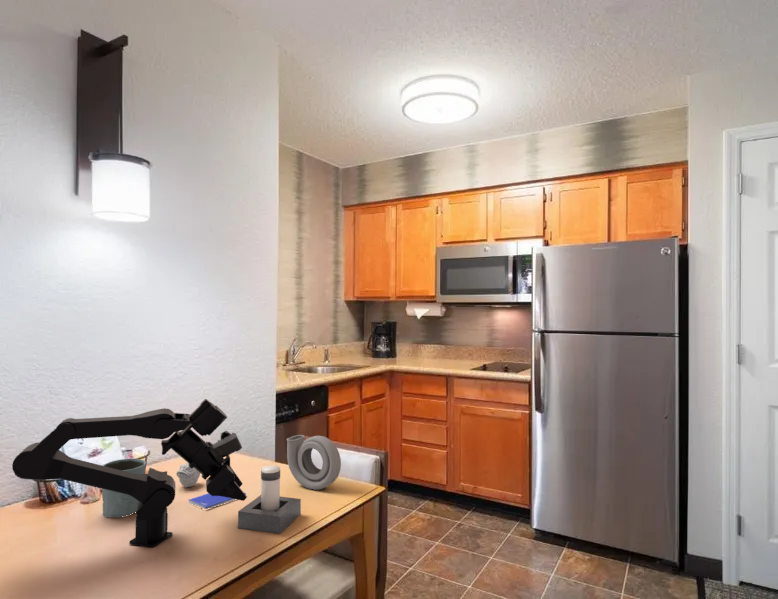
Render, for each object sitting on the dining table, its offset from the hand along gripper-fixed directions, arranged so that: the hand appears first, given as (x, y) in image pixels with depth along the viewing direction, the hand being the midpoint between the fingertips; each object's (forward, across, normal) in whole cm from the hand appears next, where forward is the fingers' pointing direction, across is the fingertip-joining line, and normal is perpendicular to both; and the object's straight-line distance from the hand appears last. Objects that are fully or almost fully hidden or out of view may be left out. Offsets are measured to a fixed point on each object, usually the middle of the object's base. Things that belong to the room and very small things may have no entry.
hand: (243, 491), depth 120 cm
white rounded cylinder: (+10, 0, +1) cm, 10 cm away
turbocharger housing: (+21, +18, -10) cm, 30 cm away
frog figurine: (-3, +32, +14) cm, 35 cm away
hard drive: (+3, +19, +10) cm, 21 cm away
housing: (+10, 0, +1) cm, 10 cm away
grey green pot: (-14, +20, +25) cm, 35 cm away
